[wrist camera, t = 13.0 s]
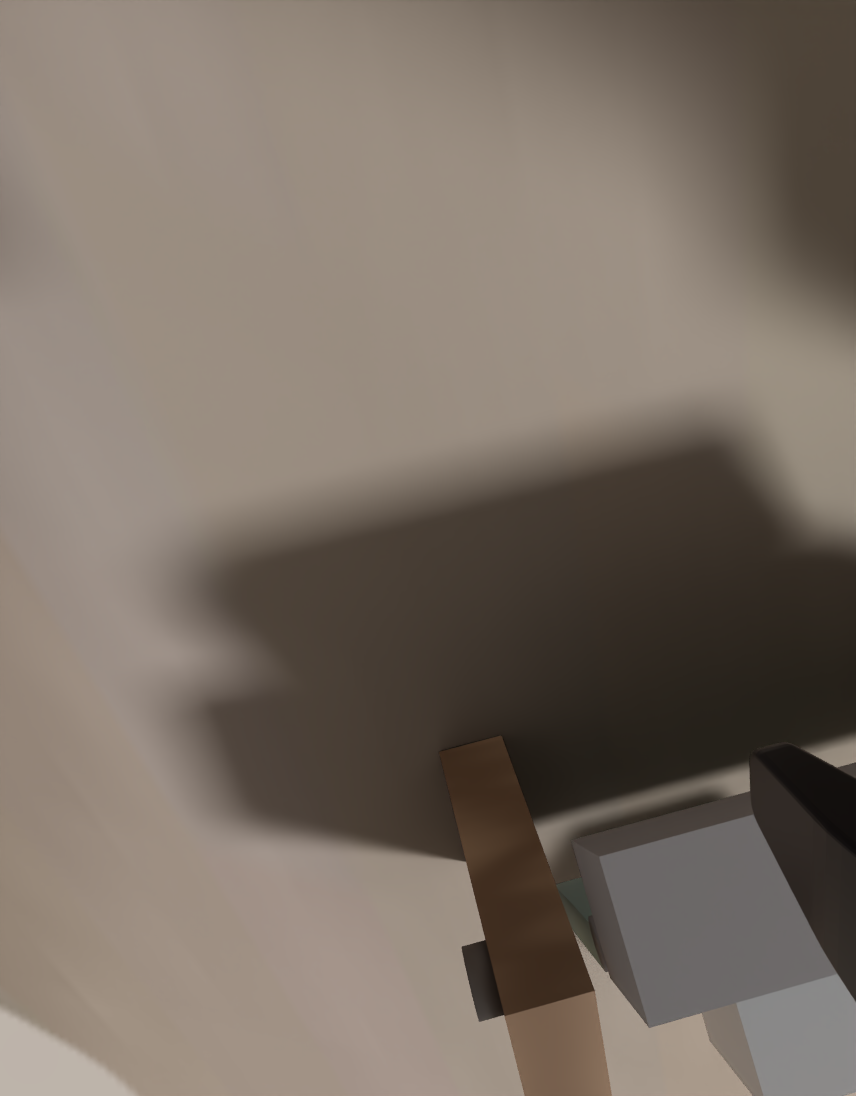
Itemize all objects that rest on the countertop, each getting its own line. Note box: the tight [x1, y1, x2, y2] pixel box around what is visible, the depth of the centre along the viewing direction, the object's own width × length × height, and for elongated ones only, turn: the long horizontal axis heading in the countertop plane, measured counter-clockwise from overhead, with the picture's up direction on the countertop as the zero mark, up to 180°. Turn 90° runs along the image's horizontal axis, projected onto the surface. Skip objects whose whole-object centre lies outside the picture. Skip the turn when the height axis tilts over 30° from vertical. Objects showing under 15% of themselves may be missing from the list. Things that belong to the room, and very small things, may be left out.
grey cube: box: [702, 974, 856, 1096], centre depth 26 cm, size 5×5×5 cm
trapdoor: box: [556, 763, 856, 1028], centre depth 20 cm, size 14×11×3 cm
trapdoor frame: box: [439, 736, 612, 1096], centre depth 22 cm, size 20×5×8 cm, turn 102°
